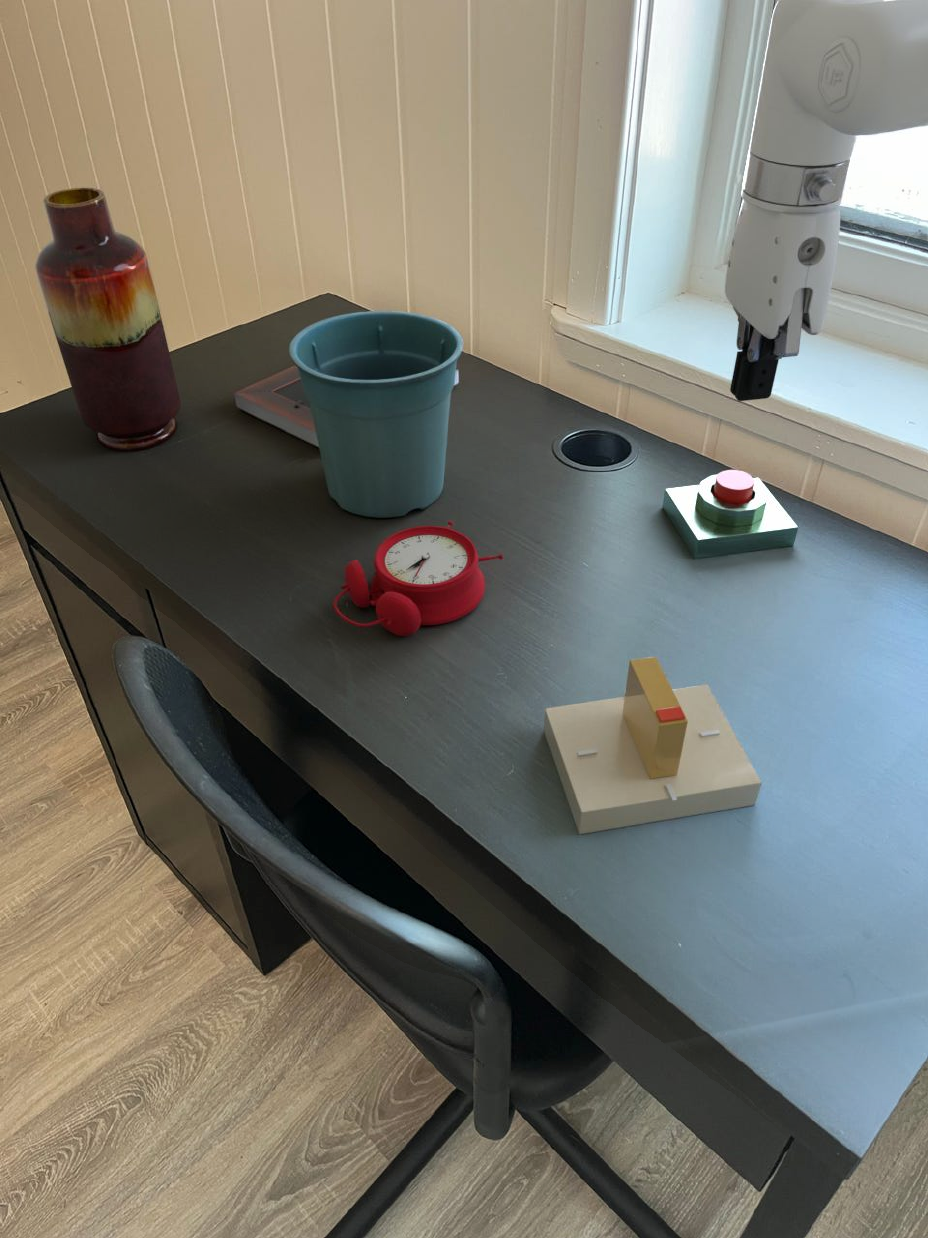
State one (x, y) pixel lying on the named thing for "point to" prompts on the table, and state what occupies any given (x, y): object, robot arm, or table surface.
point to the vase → (107, 323)
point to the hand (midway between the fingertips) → (749, 395)
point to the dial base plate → (617, 778)
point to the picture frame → (283, 403)
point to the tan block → (654, 717)
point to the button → (733, 487)
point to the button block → (728, 520)
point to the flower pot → (380, 406)
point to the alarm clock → (419, 579)
